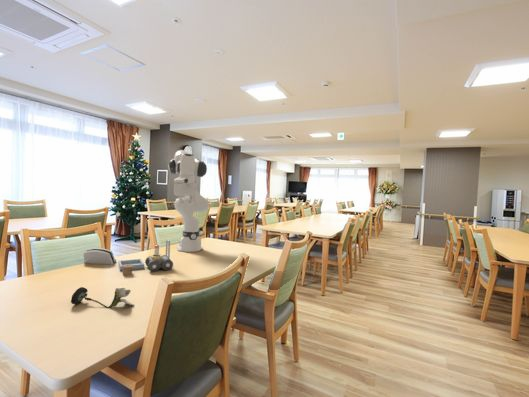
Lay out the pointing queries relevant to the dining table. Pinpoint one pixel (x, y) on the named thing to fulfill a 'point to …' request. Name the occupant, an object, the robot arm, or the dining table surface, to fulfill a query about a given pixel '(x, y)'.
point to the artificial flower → (81, 294)
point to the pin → (156, 250)
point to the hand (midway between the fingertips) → (186, 203)
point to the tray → (135, 264)
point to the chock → (127, 269)
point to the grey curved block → (99, 256)
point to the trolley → (160, 260)
